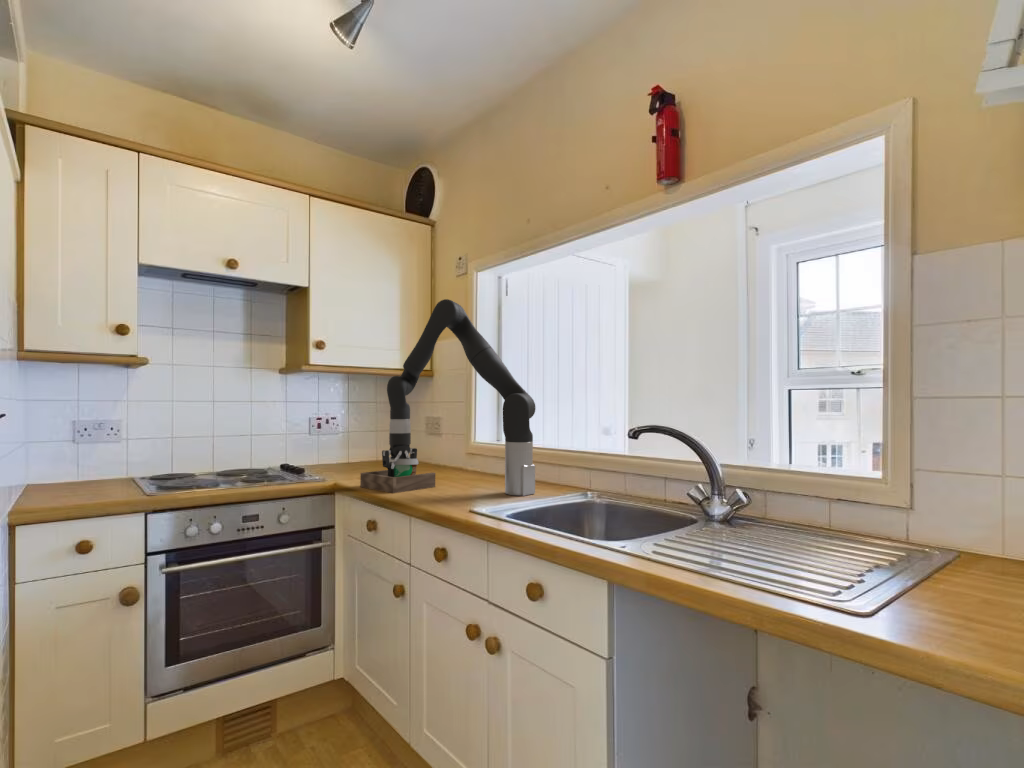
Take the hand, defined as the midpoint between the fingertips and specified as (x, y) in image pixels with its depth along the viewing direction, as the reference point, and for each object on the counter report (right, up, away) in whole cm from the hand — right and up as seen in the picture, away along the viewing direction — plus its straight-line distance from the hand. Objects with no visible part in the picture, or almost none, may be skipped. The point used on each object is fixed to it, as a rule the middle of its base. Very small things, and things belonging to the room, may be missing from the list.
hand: (399, 478), depth 193 cm
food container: (0, -3, -1) cm, 3 cm away
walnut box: (0, -3, 0) cm, 3 cm away
